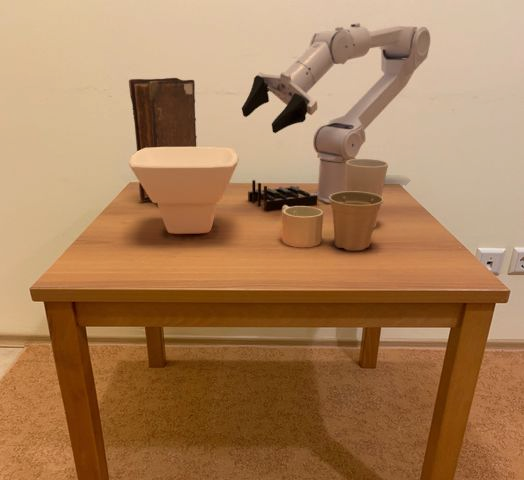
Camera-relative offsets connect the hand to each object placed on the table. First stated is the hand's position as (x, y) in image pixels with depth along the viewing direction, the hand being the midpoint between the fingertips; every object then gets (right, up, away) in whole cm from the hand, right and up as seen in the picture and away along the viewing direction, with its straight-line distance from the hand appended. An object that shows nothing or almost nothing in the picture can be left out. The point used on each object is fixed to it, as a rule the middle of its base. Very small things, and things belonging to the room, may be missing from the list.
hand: (258, 120), depth 99 cm
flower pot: (+17, -26, -6) cm, 31 cm away
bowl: (-13, -22, 0) cm, 25 cm away
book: (-20, -9, +22) cm, 31 cm away
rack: (+5, -11, +19) cm, 22 cm away
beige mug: (+7, -23, -3) cm, 25 cm away
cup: (+21, -19, +5) cm, 29 cm away
